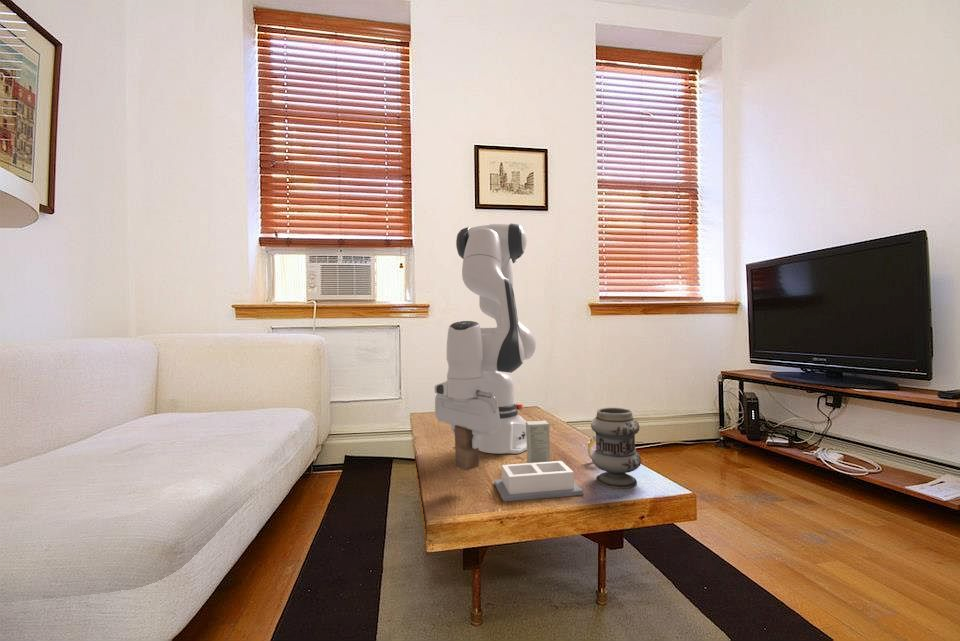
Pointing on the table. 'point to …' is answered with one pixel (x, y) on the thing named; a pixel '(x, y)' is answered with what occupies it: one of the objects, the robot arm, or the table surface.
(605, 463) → the apothecary jar
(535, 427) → the skincare box
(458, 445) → the walnut peg
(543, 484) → the slot rack
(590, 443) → the ring
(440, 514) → the table surface
